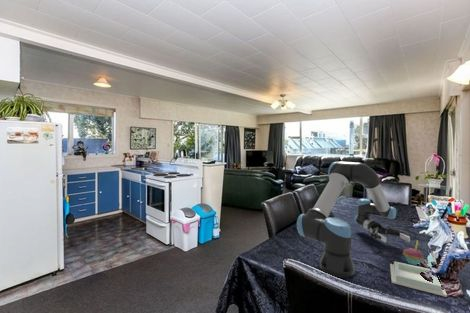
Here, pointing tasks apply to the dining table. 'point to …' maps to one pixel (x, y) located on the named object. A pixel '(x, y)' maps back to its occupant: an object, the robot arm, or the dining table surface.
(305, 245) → the dining table surface
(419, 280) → the pastry tray
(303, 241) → the dining table surface
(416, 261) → the cupcake
